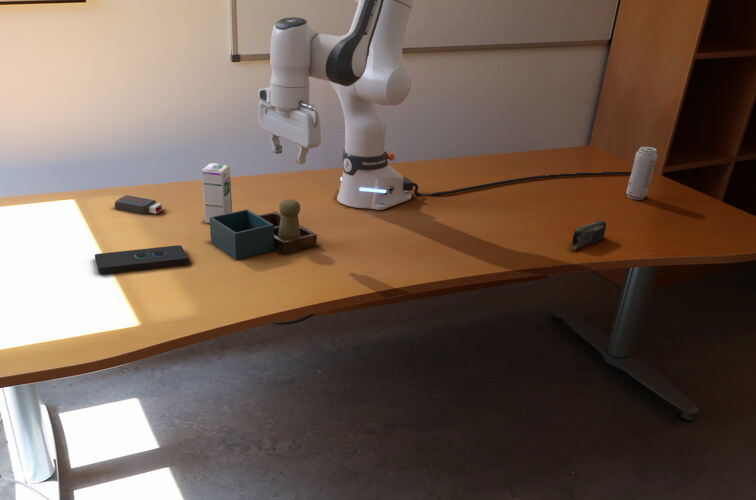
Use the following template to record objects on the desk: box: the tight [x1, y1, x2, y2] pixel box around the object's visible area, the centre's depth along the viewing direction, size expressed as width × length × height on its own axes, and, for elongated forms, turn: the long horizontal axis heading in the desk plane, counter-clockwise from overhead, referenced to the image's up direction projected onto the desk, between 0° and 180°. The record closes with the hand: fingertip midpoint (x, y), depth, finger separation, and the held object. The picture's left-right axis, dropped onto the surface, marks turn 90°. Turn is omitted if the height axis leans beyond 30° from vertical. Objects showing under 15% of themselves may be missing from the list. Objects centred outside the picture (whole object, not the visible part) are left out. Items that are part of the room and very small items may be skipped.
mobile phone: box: [571, 220, 607, 251], centre depth 194 cm, size 5×3×15 cm
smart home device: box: [94, 244, 189, 275], centre depth 172 cm, size 8×2×20 cm
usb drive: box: [114, 194, 163, 215], centre depth 200 cm, size 5×12×3 cm, turn 71°
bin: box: [209, 209, 275, 260], centre depth 181 cm, size 11×12×7 cm
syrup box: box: [200, 162, 233, 224], centre depth 193 cm, size 6×6×14 cm
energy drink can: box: [625, 146, 658, 201], centre depth 225 cm, size 6×6×15 cm
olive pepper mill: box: [278, 198, 301, 240], centre depth 183 cm, size 6×6×11 cm
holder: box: [258, 211, 318, 255], centre depth 188 cm, size 10×19×3 cm, turn 38°
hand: (288, 157), depth 175 cm, fingers open, 8 cm apart
